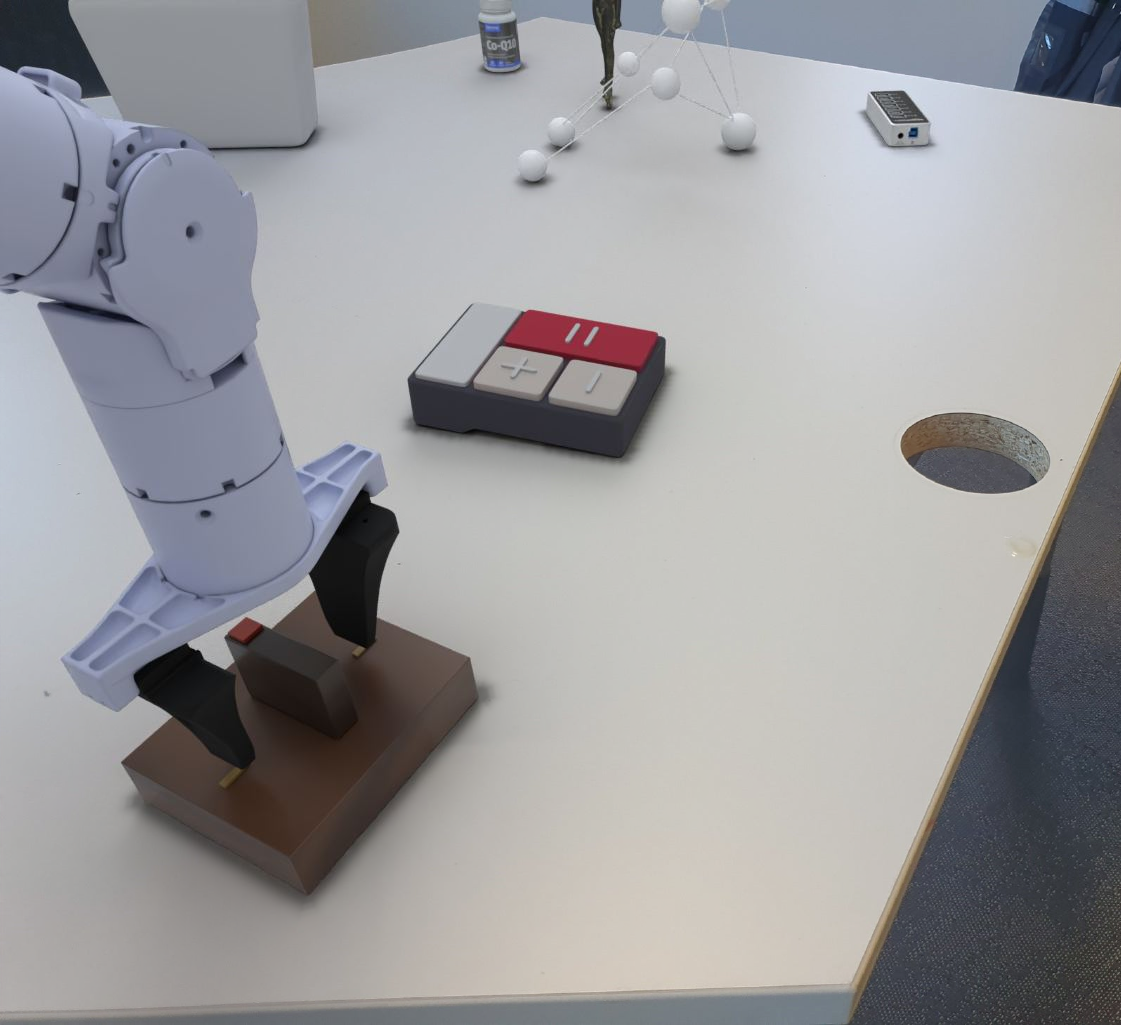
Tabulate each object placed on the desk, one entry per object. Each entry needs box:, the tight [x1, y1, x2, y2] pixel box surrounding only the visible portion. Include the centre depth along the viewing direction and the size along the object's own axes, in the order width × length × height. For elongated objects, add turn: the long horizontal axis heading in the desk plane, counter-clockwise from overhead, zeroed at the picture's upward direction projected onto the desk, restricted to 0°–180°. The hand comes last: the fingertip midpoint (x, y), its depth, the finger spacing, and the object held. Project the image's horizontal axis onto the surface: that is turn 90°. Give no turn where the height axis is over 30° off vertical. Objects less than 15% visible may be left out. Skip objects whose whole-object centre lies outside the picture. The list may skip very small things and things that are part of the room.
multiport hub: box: [865, 89, 932, 147], centre depth 110 cm, size 4×11×2 cm, turn 5°
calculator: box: [406, 301, 667, 458], centre depth 69 cm, size 11×4×15 cm
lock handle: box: [223, 616, 358, 739], centre depth 44 cm, size 6×1×4 cm, turn 62°
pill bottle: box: [477, 0, 522, 73], centre depth 125 cm, size 5×5×8 cm
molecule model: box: [516, 0, 757, 182], centre depth 99 cm, size 14×25×18 cm, turn 97°
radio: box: [68, 0, 319, 149], centre depth 101 cm, size 22×8×25 cm, turn 93°
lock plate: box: [120, 590, 479, 896], centre depth 47 cm, size 12×10×3 cm
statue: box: [591, 0, 623, 109], centre depth 111 cm, size 5×6×20 cm
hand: (297, 693), depth 45 cm, fingers open, 7 cm apart
